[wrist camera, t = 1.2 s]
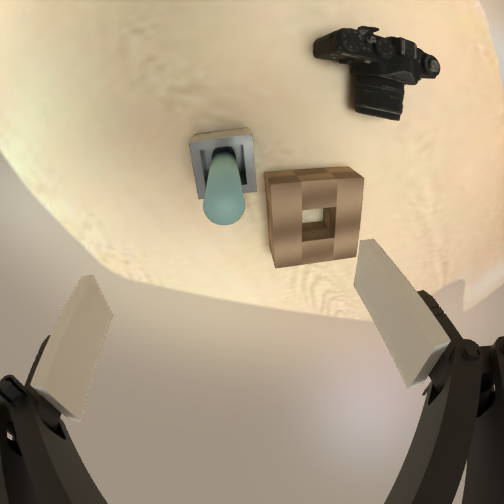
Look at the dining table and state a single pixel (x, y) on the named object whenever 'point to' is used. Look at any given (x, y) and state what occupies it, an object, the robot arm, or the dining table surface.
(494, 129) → the dining table surface
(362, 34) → the camera
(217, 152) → the dowel
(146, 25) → the dining table surface
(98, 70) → the dining table surface
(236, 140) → the pen cup
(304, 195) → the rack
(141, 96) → the dining table surface
